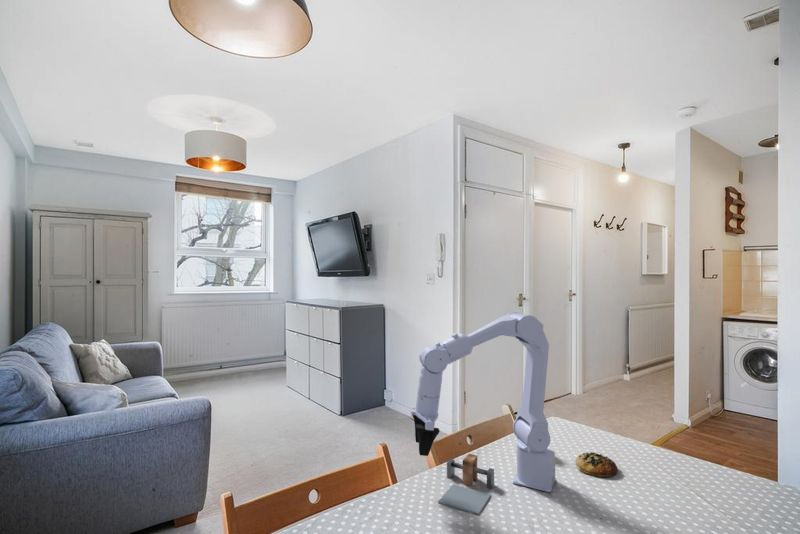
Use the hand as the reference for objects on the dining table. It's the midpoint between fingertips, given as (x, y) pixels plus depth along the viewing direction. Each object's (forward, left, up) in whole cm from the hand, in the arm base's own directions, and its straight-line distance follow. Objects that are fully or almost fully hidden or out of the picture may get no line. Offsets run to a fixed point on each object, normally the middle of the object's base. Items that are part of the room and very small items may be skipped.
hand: (421, 448), depth 103 cm
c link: (-9, -10, -11) cm, 17 cm away
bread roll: (-37, -34, -11) cm, 52 cm away
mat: (-11, -1, -11) cm, 15 cm away
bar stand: (-9, -10, -11) cm, 17 cm away
